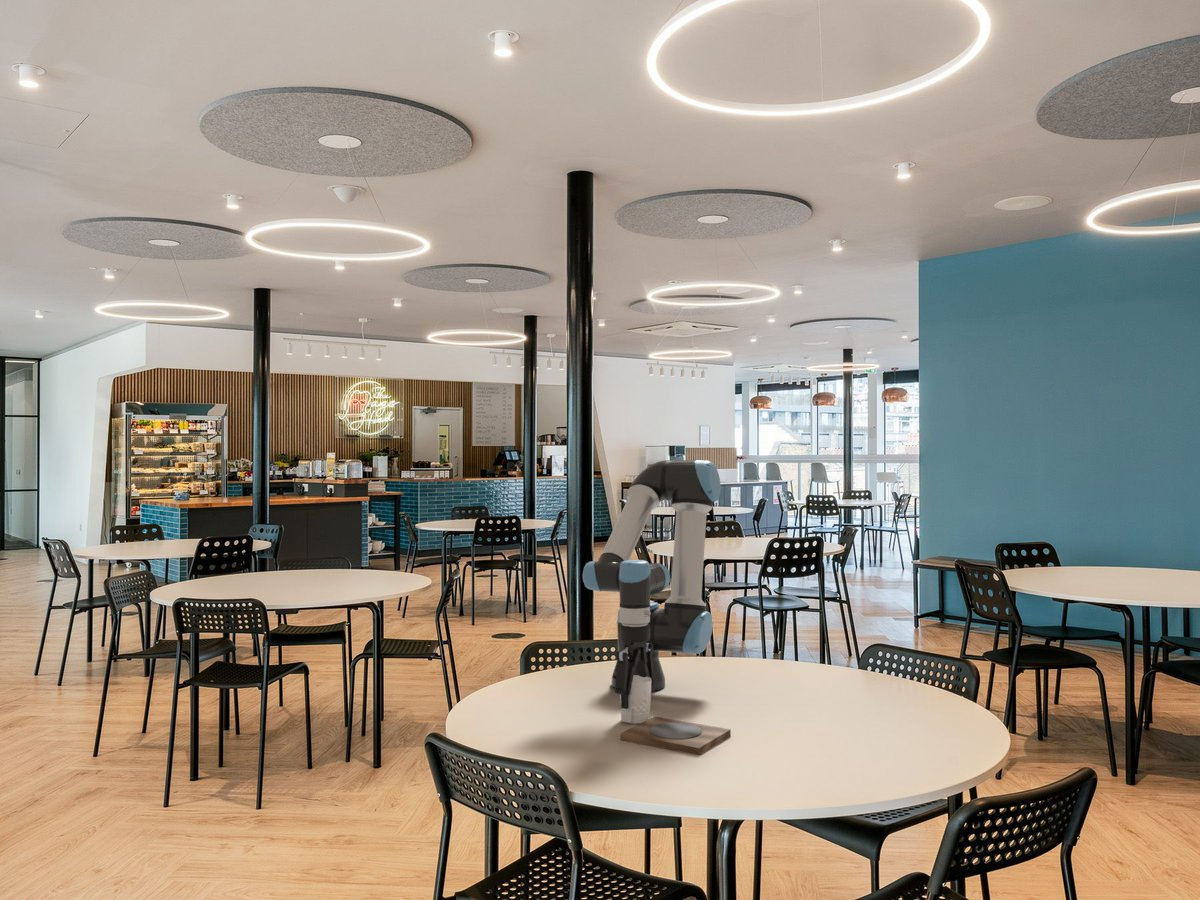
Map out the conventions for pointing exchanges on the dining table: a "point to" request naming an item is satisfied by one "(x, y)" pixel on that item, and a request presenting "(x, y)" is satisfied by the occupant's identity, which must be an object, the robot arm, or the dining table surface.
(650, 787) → the dining table surface
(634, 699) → the white cup
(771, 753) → the dining table surface
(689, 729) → the board
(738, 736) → the dining table surface
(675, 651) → the robot arm
